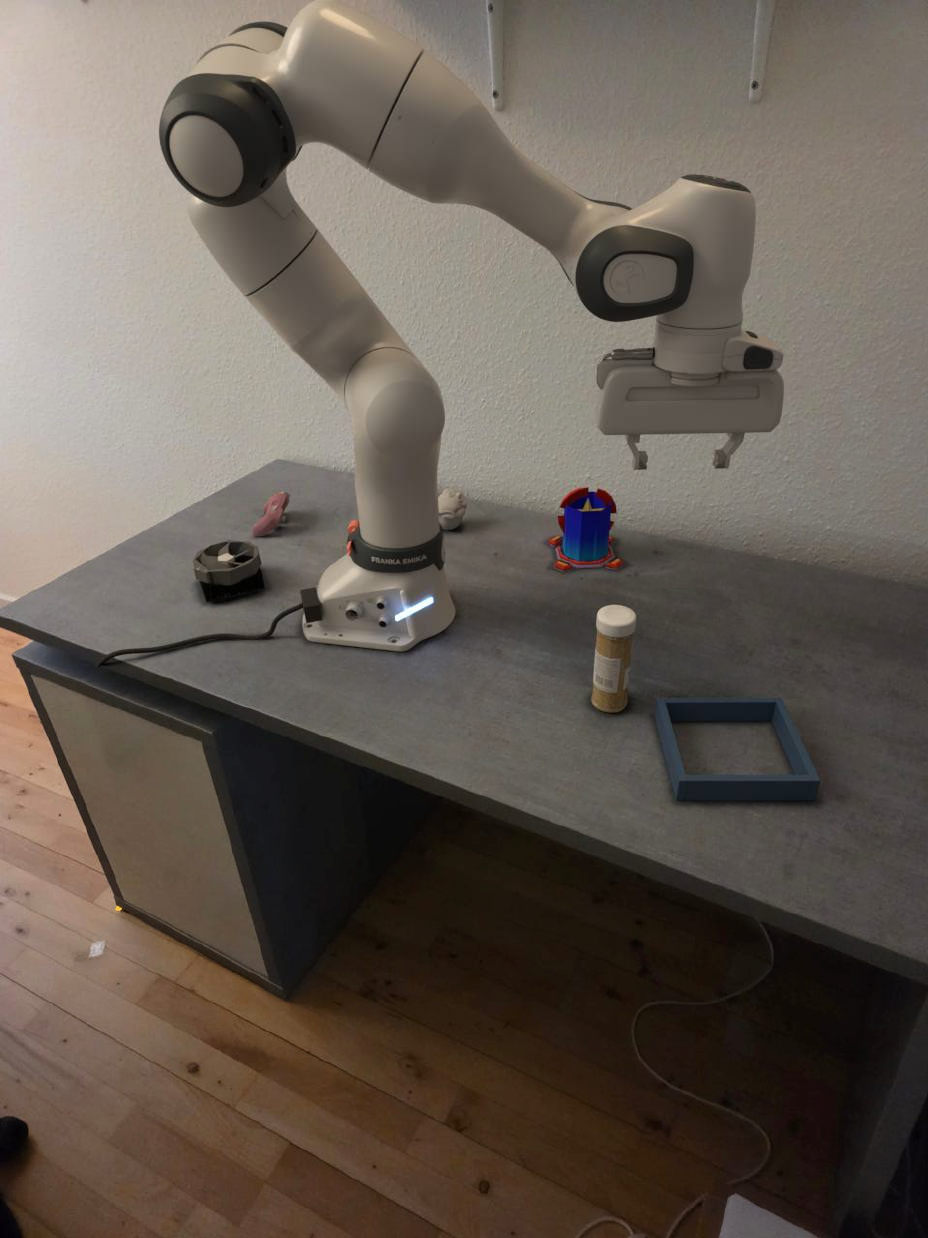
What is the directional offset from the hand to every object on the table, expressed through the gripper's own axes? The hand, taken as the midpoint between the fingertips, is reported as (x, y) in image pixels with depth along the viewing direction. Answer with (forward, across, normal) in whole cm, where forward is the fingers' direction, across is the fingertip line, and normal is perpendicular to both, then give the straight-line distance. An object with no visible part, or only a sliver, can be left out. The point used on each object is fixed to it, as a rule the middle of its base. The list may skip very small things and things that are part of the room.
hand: (679, 467), depth 93 cm
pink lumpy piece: (+27, -62, +40) cm, 79 cm away
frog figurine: (+27, -30, +38) cm, 56 cm away
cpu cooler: (+27, -64, +19) cm, 72 cm away
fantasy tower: (+27, -7, +28) cm, 40 cm away
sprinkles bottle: (+27, -8, -10) cm, 30 cm away
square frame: (+27, +5, -20) cm, 34 cm away
